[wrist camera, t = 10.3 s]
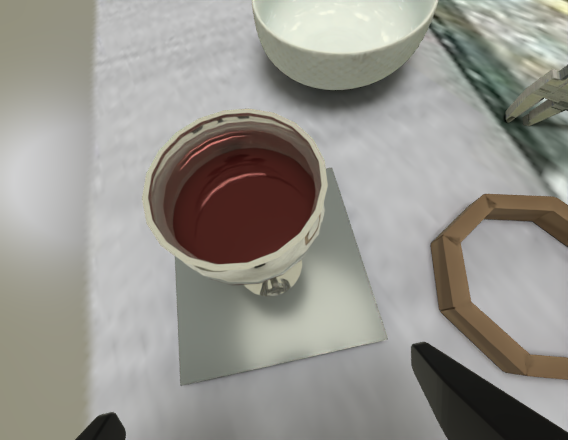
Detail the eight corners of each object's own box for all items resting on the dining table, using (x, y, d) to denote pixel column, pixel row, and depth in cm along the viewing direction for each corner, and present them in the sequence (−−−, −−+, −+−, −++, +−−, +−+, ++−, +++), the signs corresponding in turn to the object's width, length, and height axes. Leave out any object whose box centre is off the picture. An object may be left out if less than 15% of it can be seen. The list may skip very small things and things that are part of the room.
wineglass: (292, 326, 19) (280, 310, 8) (208, 285, 20) (101, 225, 9) (327, 240, 21) (355, 136, 10) (250, 209, 23) (202, 89, 12)
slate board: (382, 339, 20) (388, 339, 18) (187, 383, 19) (180, 385, 18) (330, 175, 25) (331, 167, 24) (178, 206, 25) (172, 199, 24)
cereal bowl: (278, 8, 35) (273, -66, 29) (412, 17, 33) (440, -60, 27) (243, 107, 29) (227, 40, 23) (407, 127, 27) (441, 59, 20)
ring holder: (649, 385, 18) (689, 390, 16) (447, 366, 19) (463, 370, 17) (582, 210, 22) (607, 198, 21) (424, 203, 23) (435, 191, 22)
